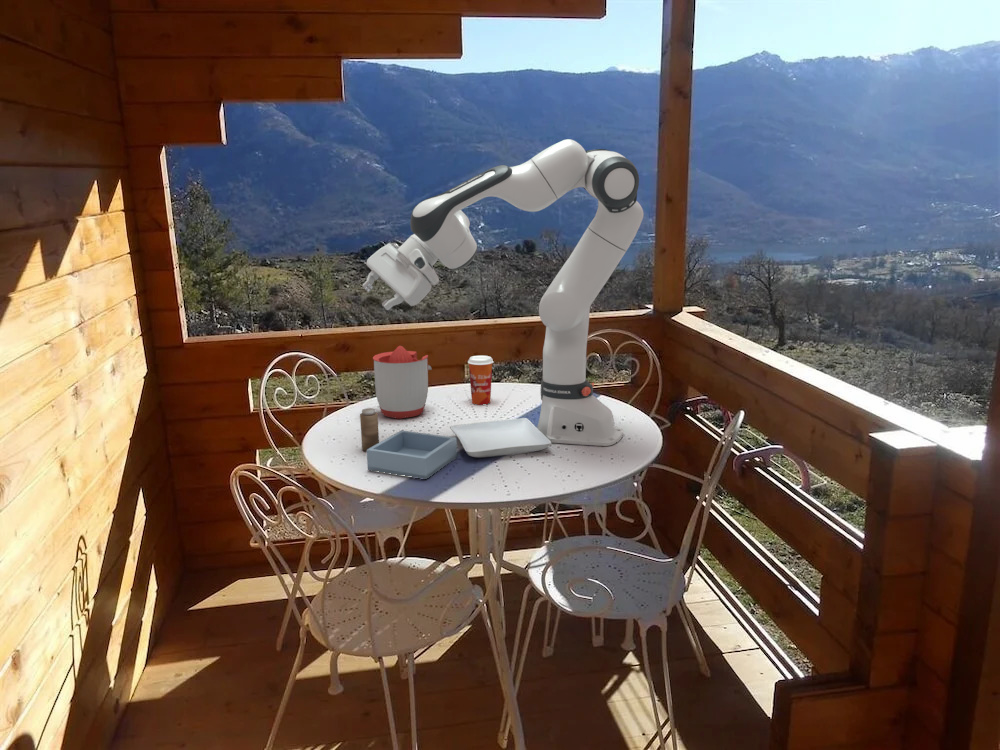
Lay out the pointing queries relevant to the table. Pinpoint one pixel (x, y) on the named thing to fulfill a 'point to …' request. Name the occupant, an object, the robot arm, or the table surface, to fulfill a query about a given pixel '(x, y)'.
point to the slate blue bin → (412, 454)
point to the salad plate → (500, 437)
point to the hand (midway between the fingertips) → (374, 298)
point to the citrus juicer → (401, 383)
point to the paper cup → (480, 379)
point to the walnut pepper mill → (369, 428)
